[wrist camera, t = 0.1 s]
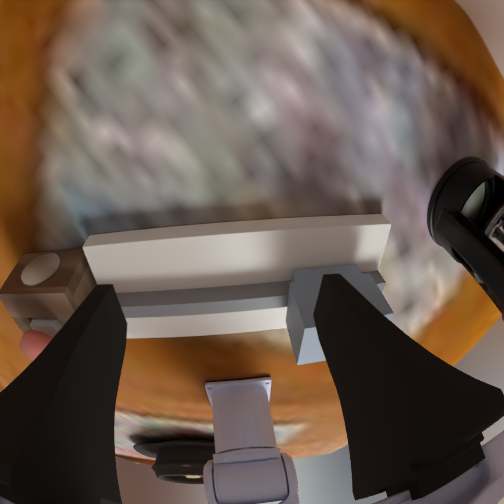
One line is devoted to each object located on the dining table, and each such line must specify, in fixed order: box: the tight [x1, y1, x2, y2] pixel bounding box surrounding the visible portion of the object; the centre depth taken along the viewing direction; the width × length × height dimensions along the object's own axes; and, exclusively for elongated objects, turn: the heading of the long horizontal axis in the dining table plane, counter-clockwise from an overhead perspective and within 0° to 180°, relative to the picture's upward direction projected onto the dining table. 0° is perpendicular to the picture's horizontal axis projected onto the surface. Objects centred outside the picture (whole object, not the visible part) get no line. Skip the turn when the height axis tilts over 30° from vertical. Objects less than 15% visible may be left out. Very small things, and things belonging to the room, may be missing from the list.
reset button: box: [20, 318, 63, 362], centre depth 17 cm, size 4×4×5 cm
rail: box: [83, 214, 391, 338], centre depth 21 cm, size 10×22×3 cm, turn 90°
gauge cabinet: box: [0, 248, 97, 333], centre depth 19 cm, size 8×7×5 cm
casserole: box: [133, 439, 216, 484], centre depth 45 cm, size 25×19×8 cm
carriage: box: [286, 264, 394, 365], centre depth 19 cm, size 4×6×5 cm, turn 90°
